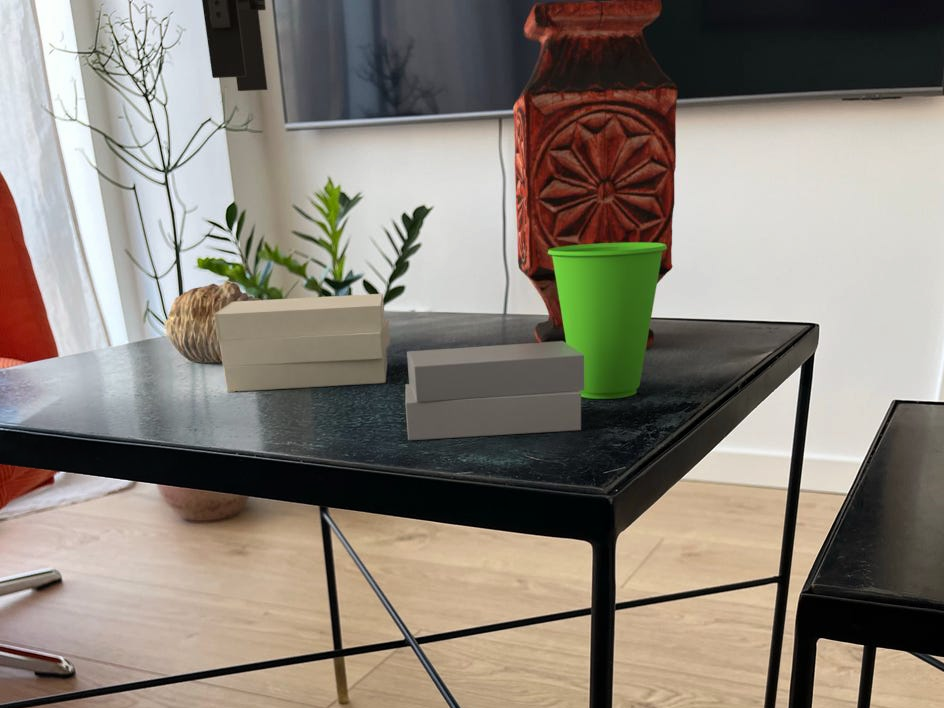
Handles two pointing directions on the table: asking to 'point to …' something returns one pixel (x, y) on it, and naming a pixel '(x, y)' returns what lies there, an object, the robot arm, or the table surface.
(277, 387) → the white pile
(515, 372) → the grey books
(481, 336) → the table surface
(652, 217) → the vase
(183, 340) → the seashell
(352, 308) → the white book
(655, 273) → the cup
